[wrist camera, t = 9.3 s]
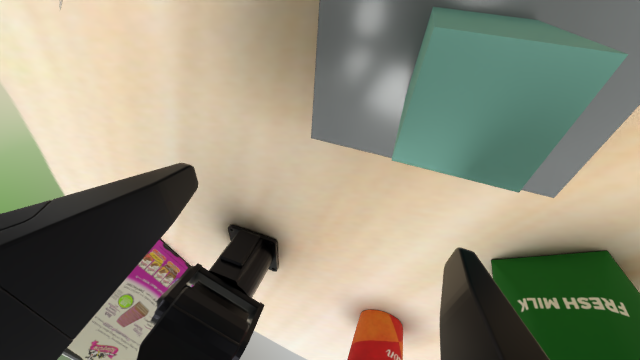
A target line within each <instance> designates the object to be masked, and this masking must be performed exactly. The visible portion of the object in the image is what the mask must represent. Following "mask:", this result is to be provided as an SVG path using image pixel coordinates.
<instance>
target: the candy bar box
mask: <svg viewBox="0 0 640 360" xmlns="http://www.w3.org/2000/svg"><path fill="white" fill-rule="evenodd" d="M188 267H189V265H188V264H187V263H186V262H185V261H184V260H183V259H182V258H180V257H179V256H178V255H177V254H176V253H175V252H174V251H172V250H171V249H170V248H169V247H168V246H167V245H166V244H165V243H163V242H162V241H161V240H160V239H159V241H158V242H157V243H156V244H155V245H154V246H153V248H152V249H151V250H150V251H149V252H148V253H147V255H146V256H145V257H144V258H143V259H142V260H141V262H140V263H139V264H138V265H137V266H136V268H135V269H134V270H133V271H132V272H131V273H130V275H129V276H128V277H127V278H126V279H125V280H124V282H123V283H122V284H121V285H120V286H119V287H118V289H117V290H116V291H115V292H114V293H113V294H112V296H111V297H110V298H109V299H108V300H107V301H106V303H105V304H104V305H103V306H102V307H101V309H100V310H99V311H98V312H97V313H96V314H95V316H94V317H93V318H92V319H91V320H90V321H89V323H88V324H87V325H86V326H85V327H84V328H83V330H82V331H81V332H80V333H79V334H78V335H77V337H76V338H75V339H73V342H72V343H71V344H70V345H69V346H68V347H67V349H66V350H65V351H64V352H63V353H62V354H63V355H64V356H66V357H68V358H70V359H72V360H137V356H138V352H139V348H140V345H141V343H142V341H143V340H144V339H145V337H146V336H147V335H148V333H149V332H150V331H151V330H152V328H153V327H154V326H155V324H153V323H151V322H150V321H151V319H152V317H153V316H154V312H155V311H156V309H157V300H158V299H159V298H160V296H161V295H163V294H164V293H165V292H166V291H167V290H168V289H169V288H170V287H171V286H172V285H173V284H174V283H175V282H176V281H177V280H178V279H179V278H180V277H181V276H182V275H183V273H184V272H185V271H186V270H187V269H188ZM193 286H194V285H191V286H190V287H193Z"/></svg>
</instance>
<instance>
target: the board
mask: <svg viewBox="0 0 640 360" xmlns="http://www.w3.org/2000/svg"><path fill="white" fill-rule="evenodd" d="M433 7H439V8H447V9H455V10H462V11H470V12H478V13H486V14H494V15H502V16H509V17H517V18H525V19H533V20H539V21H541V22H544V23H547V24H549V25H552V26H554V27H557V28H560V29H562V30H565V31H568V32H570V33H573V34H576V35H578V36H581V37H583V38H586V39H589V40H591V41H594V42H597V43H599V44H602V45H605V46H607V47H610V48H612V49H615V50H618V51H620V52H623V53H626V54H628V56H627V57H626V58H625V59H624V61H623V62H622V63H621V65H620V66H619V67H618V68H617V70H616V71H615V72H614V73H613V75H612V76H611V77H610V78H609V80H608V81H607V82H606V83H605V85H604V86H603V87H602V88H601V90H600V91H599V92H598V93H597V95H596V96H595V97H594V99H593V100H592V101H591V102H590V104H589V105H588V106H587V107H586V109H585V110H584V111H583V112H582V114H581V115H580V116H579V117H578V119H577V120H576V121H575V122H574V124H573V125H572V126H571V127H570V129H569V130H568V131H567V133H566V134H565V135H564V136H563V138H562V139H561V140H560V141H559V143H558V144H557V145H556V146H555V148H554V149H553V150H552V151H551V153H550V154H549V155H548V156H547V158H546V159H545V160H544V161H543V163H542V164H541V165H540V167H539V168H538V169H537V170H536V172H535V173H534V174H533V175H532V177H531V178H530V179H529V180H528V182H527V183H526V184H525V185H524V187H523V188H522V189H521V190H524V191H528V192H532V193H536V194H540V195H544V196H548V197H552V198H554V197H555V196H556V195H557V194H558V193H559V192H560V191H561V190H562V189H563V188H564V186H565V185H566V184H567V183H568V182H569V181H570V180H571V179H572V178H573V177H574V176H575V174H576V173H577V172H578V171H579V170H580V169H581V168H582V167H583V166H584V165H585V164H586V163H587V161H588V160H589V159H590V158H591V157H592V156H593V155H594V154H595V153H596V152H597V151H598V149H599V148H600V147H601V146H602V145H603V144H604V143H605V142H606V141H607V140H608V139H609V137H610V136H611V135H612V134H613V133H614V132H615V131H616V130H617V129H618V128H619V127H620V126H621V124H622V123H623V122H624V121H625V120H626V119H627V118H628V117H629V116H630V115H631V114H632V112H633V111H634V110H635V109H636V108H637V107H638V106H639V105H640V0H320V3H319V19H318V35H317V51H316V68H315V84H314V100H313V116H312V133H311V138H313V139H317V140H321V141H325V142H329V143H333V144H337V145H341V146H345V147H349V148H353V149H357V150H361V151H365V152H370V153H374V154H378V155H382V156H386V157H390V158H392V155H393V151H394V146H395V142H396V137H397V133H398V128H399V124H400V119H401V115H402V110H403V106H404V101H405V97H406V94H407V91H408V87H409V84H410V81H411V77H412V74H413V71H414V68H415V64H416V61H417V58H418V54H419V51H420V48H421V45H422V41H423V38H424V35H425V32H426V28H427V25H428V22H429V18H430V15H431V12H432V9H433Z"/></svg>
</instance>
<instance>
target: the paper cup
mask: <svg viewBox="0 0 640 360" xmlns="http://www.w3.org/2000/svg"><path fill="white" fill-rule="evenodd" d="M347 360H403V327H402V324H401V322H400V321H399V320H398V319H397V318H396V317H394V316H392V315H390V314H388V313H386V312H383V311H379V310H365V311H363V312H362V313H361V315H360V318H359V321H358V324H357V327H356V331H355V334H354V338H353V341H352V345H351V349H350V352H349V356H348V359H347Z"/></svg>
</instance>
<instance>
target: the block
mask: <svg viewBox="0 0 640 360" xmlns="http://www.w3.org/2000/svg"><path fill="white" fill-rule="evenodd" d="M627 56H628V54H626V53H623V52H620V51H618V50H615V49H612V48H610V47H607V46H605V45H602V44H599V43H597V42H594V41H591V40H589V39H586V38H583V37H581V36H578V35H576V34H573V33H570V32H568V31H565V30H562V29H560V28H557V27H554V26H552V25H549V24H547V23H544V22H541V21H539V20H533V19H525V18H517V17H509V16H502V15H494V14H486V13H478V12H470V11H462V10H455V9H447V8H439V7H433V9H432V12H431V15H430V18H429V22H428V25H427V28H426V32H425V35H424V38H423V41H422V45H421V48H420V51H419V54H418V58H417V61H416V64H415V68H414V71H413V74H412V77H411V81H410V84H409V87H408V91H407V94H406V97H405V101H404V106H403V110H402V115H401V119H400V124H399V128H398V133H397V137H396V142H395V146H394V151H393V155H392V160H393V161H397V162H401V163H405V164H409V165H413V166H416V167H420V168H424V169H428V170H432V171H436V172H440V173H444V174H448V175H452V176H456V177H460V178H464V179H468V180H472V181H476V182H480V183H483V184H487V185H491V186H495V187H499V188H503V189H507V190H511V191H515V192H520V190H521V189H522V188H523V187H524V185H525V184H526V183H527V182H528V180H529V179H530V178H531V177H532V175H533V174H534V173H535V172H536V170H537V169H538V168H539V167H540V165H541V164H542V163H543V161H544V160H545V159H546V158H547V156H548V155H549V154H550V153H551V151H552V150H553V149H554V148H555V146H556V145H557V144H558V143H559V141H560V140H561V139H562V138H563V136H564V135H565V134H566V133H567V131H568V130H569V129H570V127H571V126H572V125H573V124H574V122H575V121H576V120H577V119H578V117H579V116H580V115H581V114H582V112H583V111H584V110H585V109H586V107H587V106H588V105H589V104H590V102H591V101H592V100H593V99H594V97H595V96H596V95H597V93H598V92H599V91H600V90H601V88H602V87H603V86H604V85H605V83H606V82H607V81H608V80H609V78H610V77H611V76H612V75H613V73H614V72H615V71H616V70H617V68H618V67H619V66H620V65H621V63H622V62H623V61H624V59H625V58H626V57H627Z"/></svg>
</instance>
